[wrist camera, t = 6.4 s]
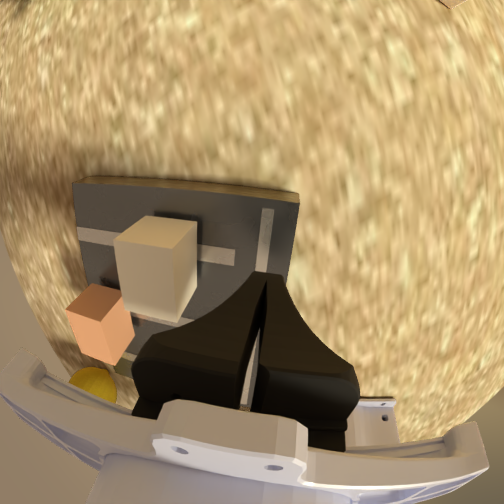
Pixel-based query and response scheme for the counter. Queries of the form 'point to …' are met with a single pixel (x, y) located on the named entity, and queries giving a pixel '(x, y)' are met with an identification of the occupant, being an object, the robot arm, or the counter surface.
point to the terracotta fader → (101, 323)
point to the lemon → (95, 383)
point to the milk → (452, 3)
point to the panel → (208, 241)
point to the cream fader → (157, 266)
